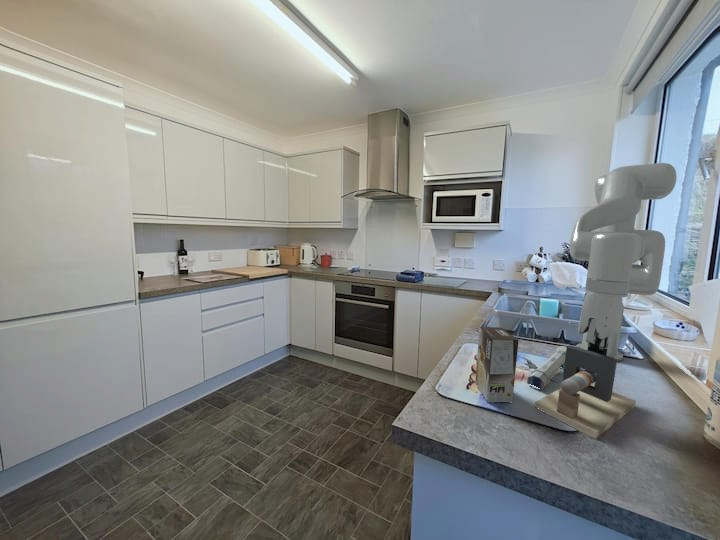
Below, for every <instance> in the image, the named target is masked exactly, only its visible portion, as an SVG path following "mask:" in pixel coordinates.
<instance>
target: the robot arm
mask: <svg viewBox="0 0 720 540" xmlns="http://www.w3.org/2000/svg"><path fill="white" fill-rule="evenodd" d="M676 183H677V170H676V167H674V166H673V165H672V164H671V163H665V162H660V163H656V162H655V163H648V164H646V163H645V164H637V165H636V164H635V165H627V166H626V165H624V166H621V167H617V168H615V169H612V170H610V171H609V172H608V173H607V174H604V175H602V176H599V177H598V178H597V179H596V181H595V183H594V193H595V199H596V203H597V205H595V206H593V207H592V208H590V209H589V210H587V211H586V212H584V213H583V214H582V215H581V216H580V217H579V218H578V219H577V220H576V222H575V223H574V226H573V230H572V233H571V237H570V241H569V246H568V247H569V248H568V249H569V255H570V256H571V257H572V258H573V259H574V260H577V261H582V262H588V266H587V267H588V268H587V275H586V281H585V288H584V291H585V292H586V294H585V297H584V300H583V302H582V307H581V312H580V317H579V322H578V327H577V332H578V333H579V334H581V335H582V341H581V343H577V344H576V345H575V346H576V347H579V348H582V349H585V350H589V351H592V352H595V353H598V354H602V355H605V356H608V357H611V358H615V359H617V362H619V361H622V360H623V358H624V355H623V354H622V353H621V352H620V351H618V349H619V343H620V338H621V331H622V330H621V329H622V324H623V318H624V311H625V310H624V309H625V308H624V307H625V306H624V303H623V298H626V297H628V294H629V295H636V296H637V295H639V296H653V295H655V294H656V293H657V292H658V290H659V288H660V284H661V278H662V271H663V266H664V257H665V251H666V238H665V236H664V234H663V233H662V232H660V231H659V230H652V229H636V228H635V224H636V219H637V218H636V217H637V215H638V214H639V213H640V211H641V209H642V201H643V200H646V201H647V200H650V201H651V200H662V199H665V198H666V197H668V196H669V195H670V194H671V193H673V191H674V188H675V186H676ZM598 229H599V231H595V230H598ZM638 261H639V262H641V263H642V264H634V263H637V262H638Z"/></svg>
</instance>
